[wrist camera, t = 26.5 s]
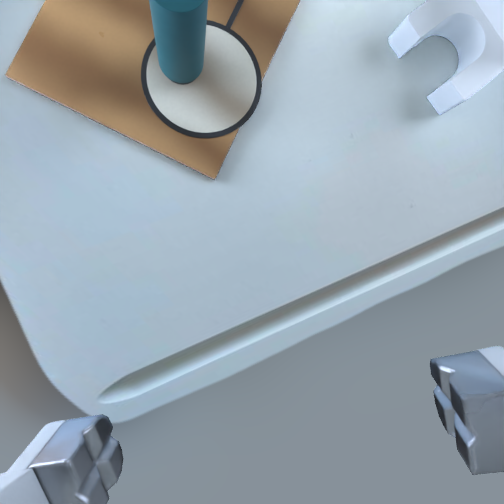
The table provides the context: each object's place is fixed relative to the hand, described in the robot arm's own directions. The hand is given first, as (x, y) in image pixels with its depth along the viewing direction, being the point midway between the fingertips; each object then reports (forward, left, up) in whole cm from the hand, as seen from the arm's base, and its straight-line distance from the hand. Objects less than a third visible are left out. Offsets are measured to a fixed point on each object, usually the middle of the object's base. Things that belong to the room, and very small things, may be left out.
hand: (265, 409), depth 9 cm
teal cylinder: (+18, +11, -26) cm, 34 cm away
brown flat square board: (+20, +14, -27) cm, 37 cm away
